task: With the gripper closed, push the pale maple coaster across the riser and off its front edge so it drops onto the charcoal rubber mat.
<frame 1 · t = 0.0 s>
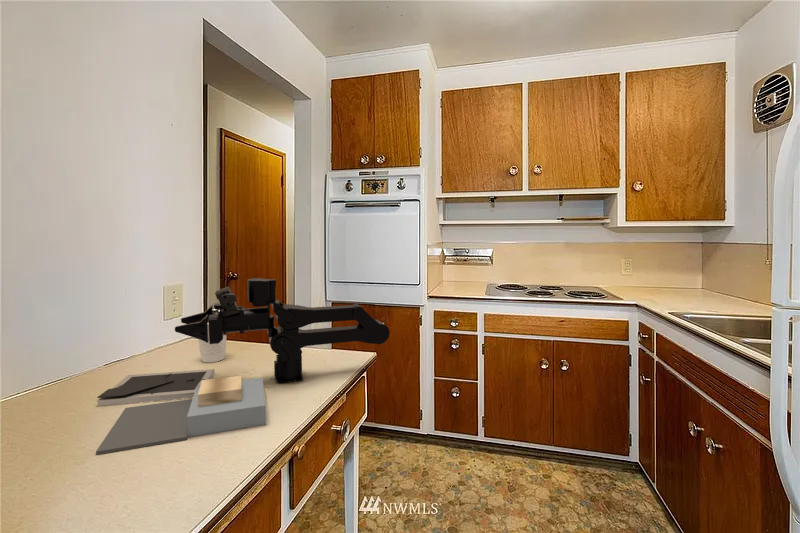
hand: (178, 324, 93), 17 cm above the worktop, tool horizontal, fingers open, 9 cm apart
white cup: (213, 359, 119), on the worktop
picture frame: (162, 392, 97), on the worktop
rubber mat: (154, 424, 79), on the worktop
coaster: (221, 395, 83), point 4 cm above the worktop, touching riser
riser: (229, 412, 84), on the worktop
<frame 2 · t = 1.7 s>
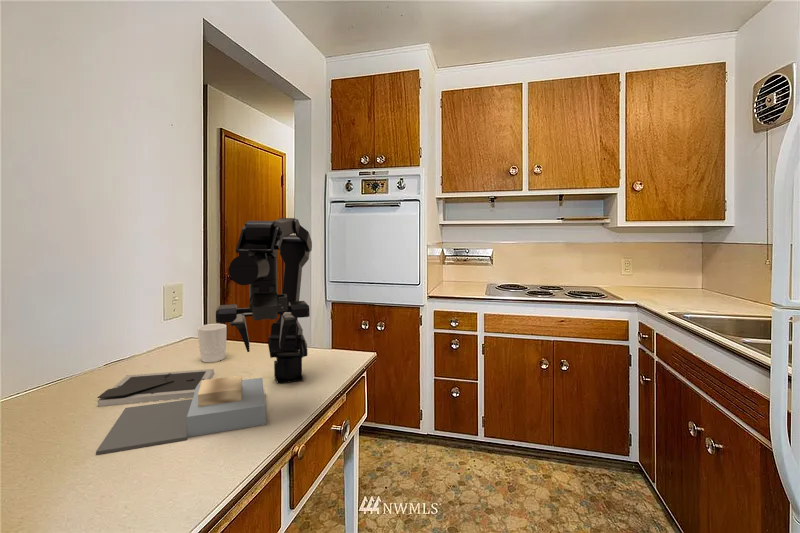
hand: (264, 350, 85), 13 cm above the worktop, tool pointing down, fingers open, 6 cm apart
nothing on the worktop moved.
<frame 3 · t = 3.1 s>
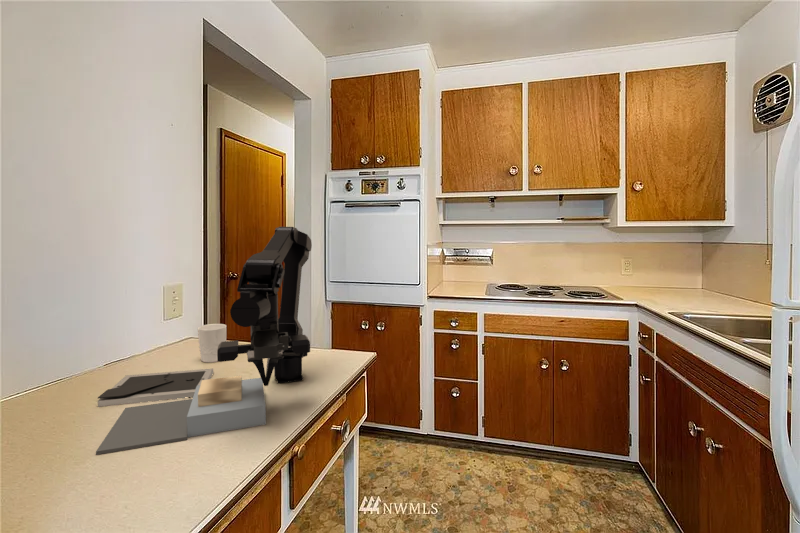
hand: (266, 385, 86), 5 cm above the worktop, tool pointing down, fingers closed
nothing on the worktop moved.
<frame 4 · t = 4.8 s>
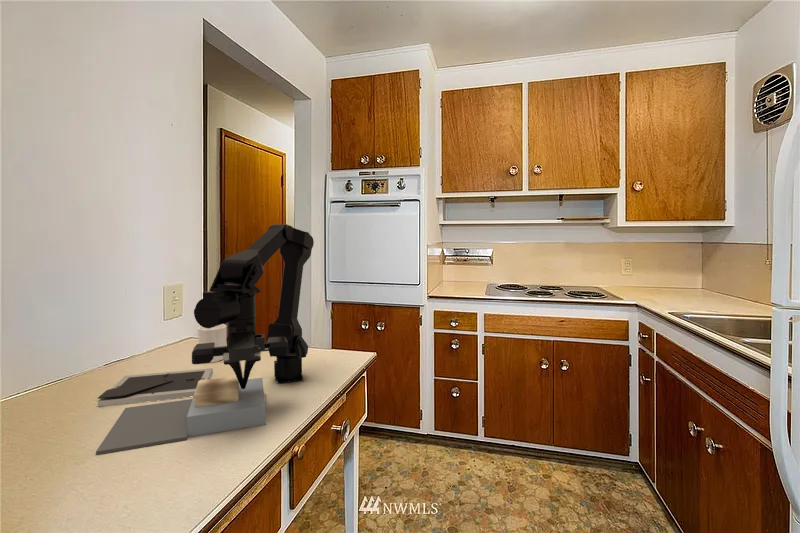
hand: (243, 388, 84), 5 cm above the worktop, tool pointing down, fingers closed
coaster: (218, 396, 83), point 4 cm above the worktop, touching gripper
everything else where it was.
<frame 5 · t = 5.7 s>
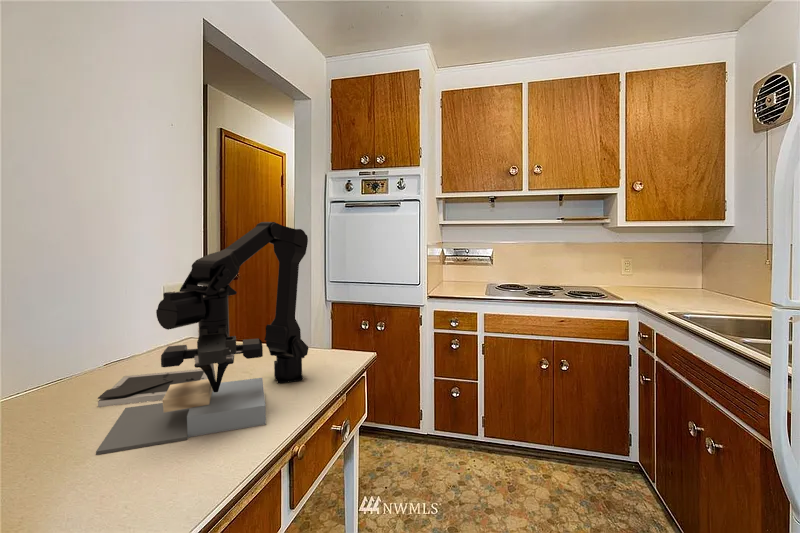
hand: (216, 391, 82), 5 cm above the worktop, tool pointing down, fingers closed
coaster: (189, 400, 81), point 4 cm above the worktop, touching gripper, riser
everything else where it was.
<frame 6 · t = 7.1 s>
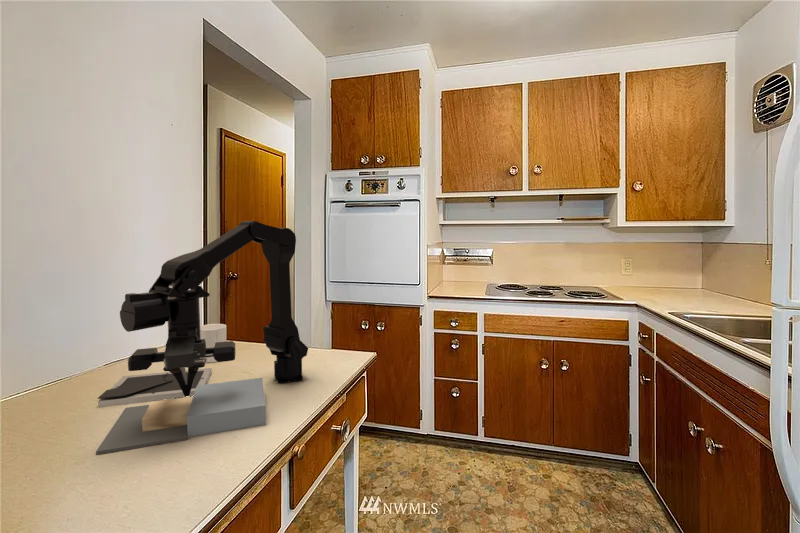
hand: (187, 395, 80), 5 cm above the worktop, tool pointing down, fingers closed
coaster: (170, 418, 80), point 1 cm above the worktop, touching rubber mat
everything else where it was.
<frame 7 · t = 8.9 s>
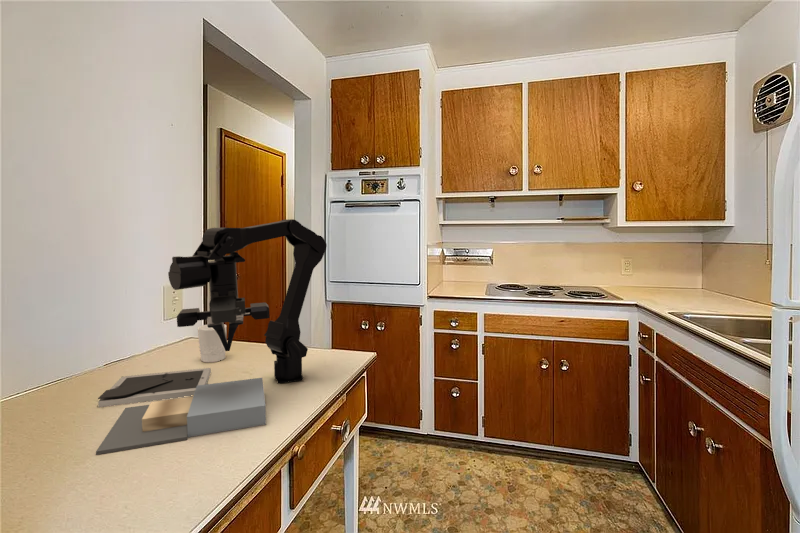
hand: (227, 350, 90), 12 cm above the worktop, tool pointing down, fingers closed
nothing on the worktop moved.
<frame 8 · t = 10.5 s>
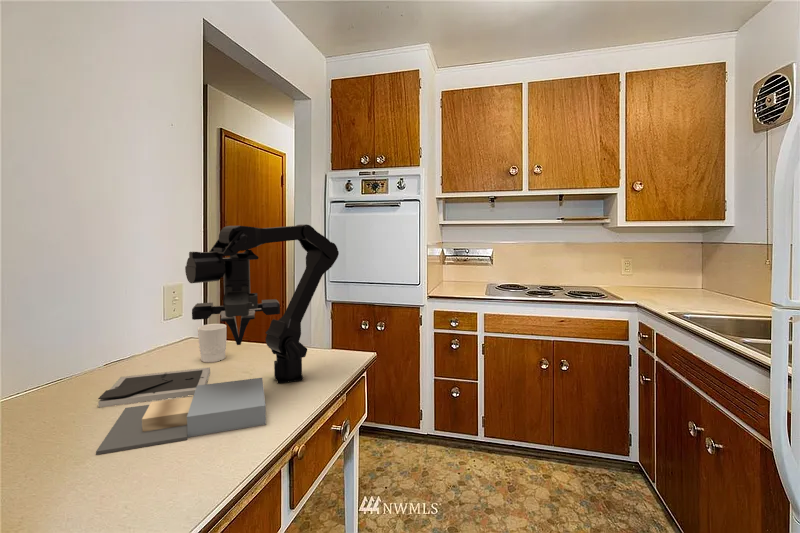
hand: (238, 344, 93), 12 cm above the worktop, tool pointing down, fingers closed
at the end: coaster inside the target area (3.7 cm from its centre), point 0.6 cm above the worktop; coaster point 0.6 cm above the worktop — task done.
